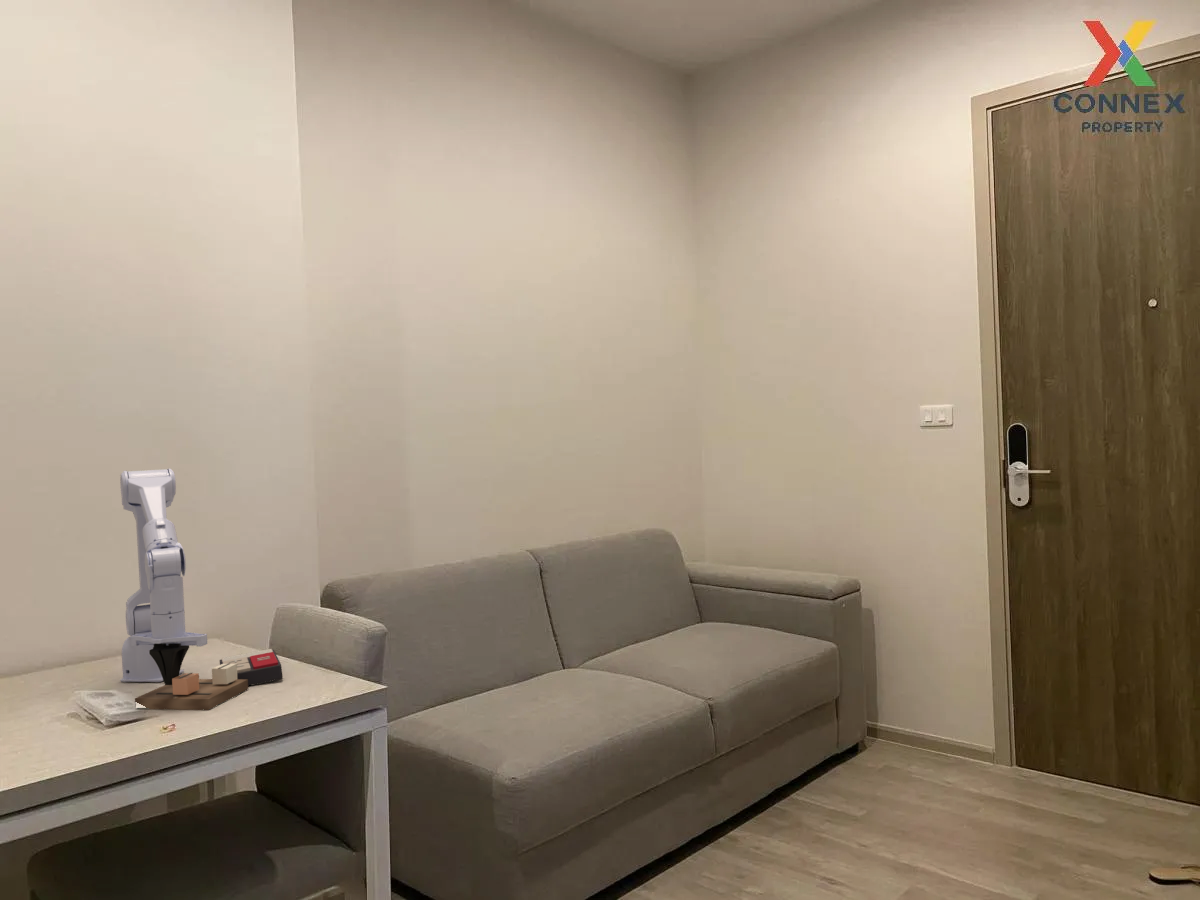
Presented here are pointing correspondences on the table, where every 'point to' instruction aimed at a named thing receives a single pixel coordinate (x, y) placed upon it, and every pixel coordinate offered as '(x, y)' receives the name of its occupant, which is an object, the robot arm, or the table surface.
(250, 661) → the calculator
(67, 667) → the table surface
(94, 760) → the table surface
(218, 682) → the ivory fader
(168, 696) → the mixer panel
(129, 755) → the table surface
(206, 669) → the table surface
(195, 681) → the terracotta fader
